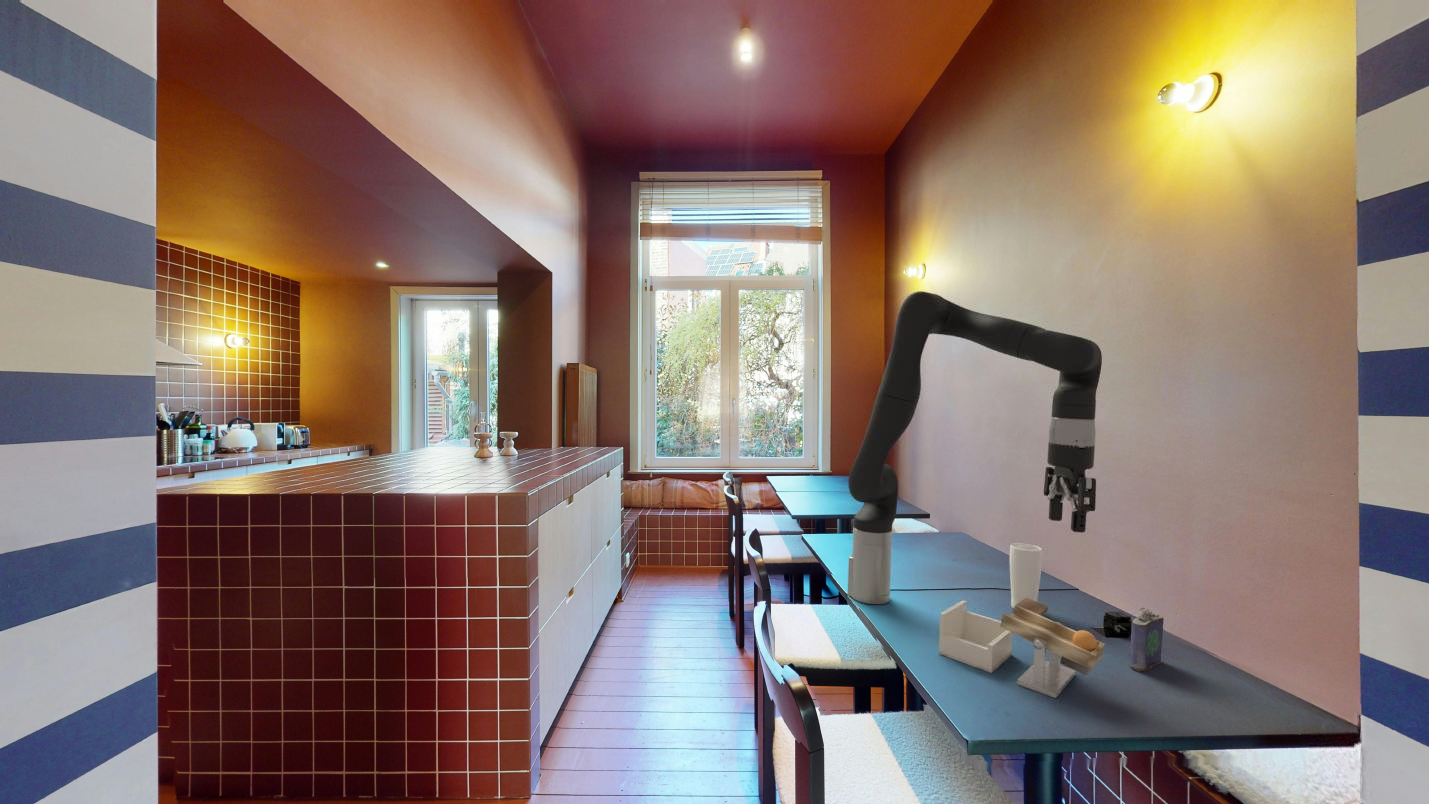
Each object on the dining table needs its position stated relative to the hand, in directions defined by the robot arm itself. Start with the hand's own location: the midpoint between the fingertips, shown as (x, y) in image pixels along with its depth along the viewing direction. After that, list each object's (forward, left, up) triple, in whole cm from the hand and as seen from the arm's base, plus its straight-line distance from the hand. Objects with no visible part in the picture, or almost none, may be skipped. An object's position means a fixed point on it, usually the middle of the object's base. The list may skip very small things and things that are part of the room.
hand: (1066, 525), depth 109 cm
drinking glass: (-13, +22, -26) cm, 37 cm away
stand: (+1, -11, -26) cm, 28 cm away
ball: (+6, -11, -17) cm, 21 cm away
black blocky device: (+5, +24, -27) cm, 36 cm away
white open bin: (-12, -11, -26) cm, 31 cm away
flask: (+12, +10, -26) cm, 31 cm away
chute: (0, -8, -21) cm, 22 cm away
